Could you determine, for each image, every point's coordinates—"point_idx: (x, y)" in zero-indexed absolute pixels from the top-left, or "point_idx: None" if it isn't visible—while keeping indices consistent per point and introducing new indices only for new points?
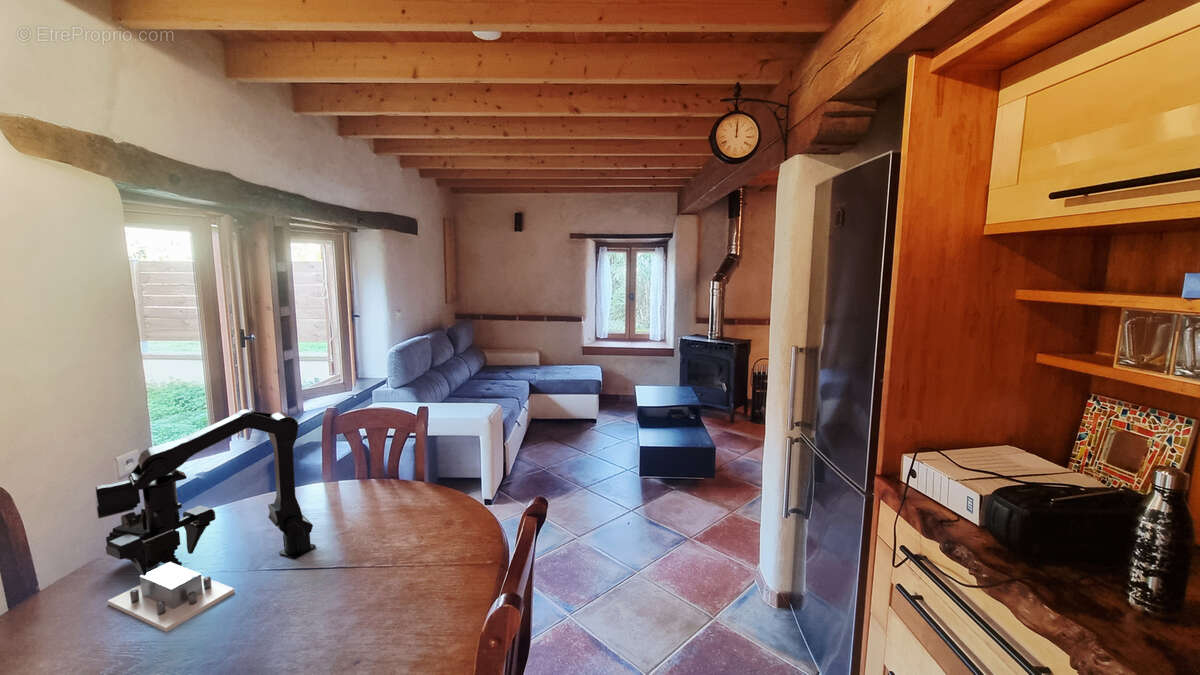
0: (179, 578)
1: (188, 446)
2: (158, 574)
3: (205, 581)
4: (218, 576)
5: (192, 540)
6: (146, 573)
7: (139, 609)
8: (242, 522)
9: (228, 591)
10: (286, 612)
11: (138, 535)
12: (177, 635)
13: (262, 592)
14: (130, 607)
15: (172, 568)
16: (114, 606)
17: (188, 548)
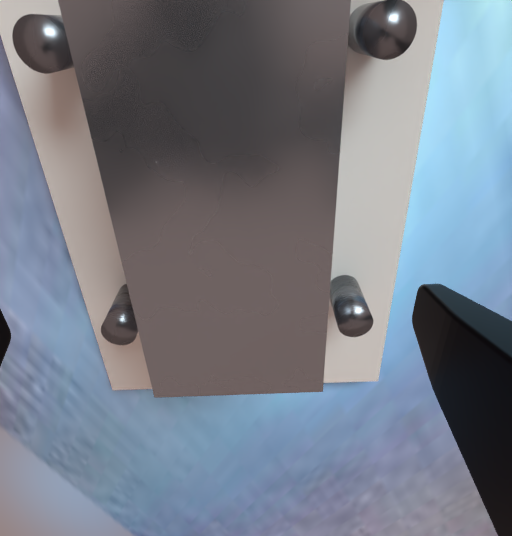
0: (234, 336)
1: None
2: (178, 147)
3: (338, 326)
4: (457, 191)
5: (502, 506)
6: (3, 357)
7: (71, 169)
8: None
9: (354, 380)
10: (346, 533)
11: None
12: (135, 414)
13: (402, 436)
14: (39, 93)
15: (285, 158)
16: None
17: (443, 335)
